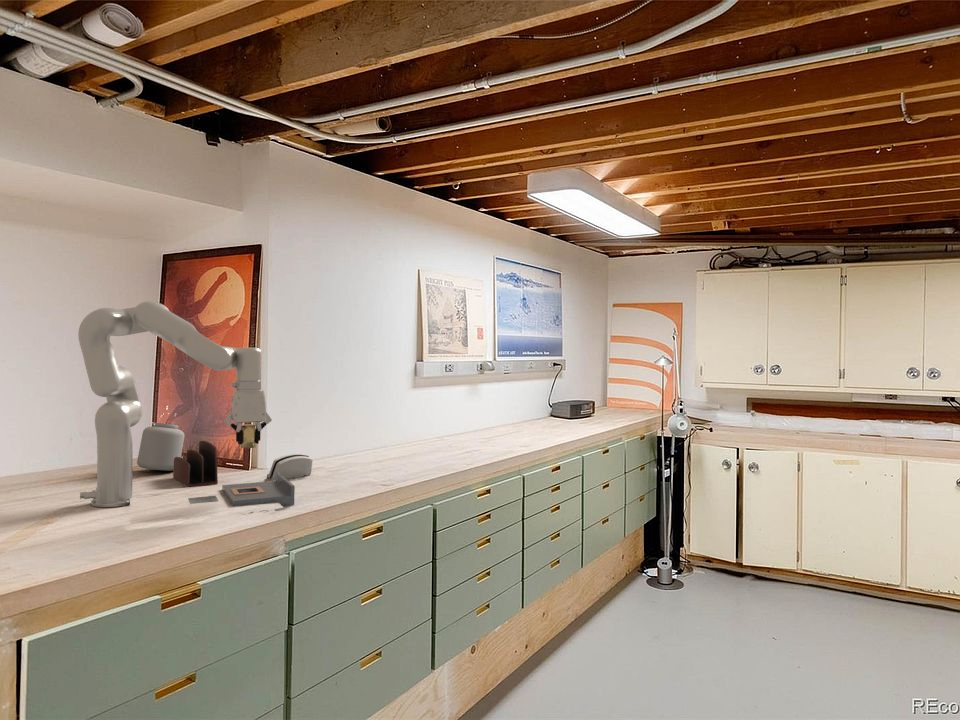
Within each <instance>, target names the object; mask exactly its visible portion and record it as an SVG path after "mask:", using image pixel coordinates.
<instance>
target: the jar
mask: <svg viewBox="0 0 960 720" xmlns="http://www.w3.org/2000/svg"><path fill="white" fill-rule="evenodd" d="M168 407H169V405H166V410H168ZM167 414H168V415H169V414H170V413H169V412H168V413H167ZM174 414H175V415H174V416H176V415H177V413H174ZM162 417H163V415H162V414H161V416H160V418H162ZM151 422H152V421H151ZM184 441H185V433H184V431H183V430H181V429H179V425H177V424H170V423H161V422H152V425H151V426H147V427H145V428H144V429H143V431H142V434H141V439H140V443H139V444H140V446H139V450H138V454H137V461H136V464H137V466H138V467H139V468H141V469H146V470H154V471H155V470H156V471H167V472H169V471H172V472H173V469H174V458H175V457H180V458H182V454H183V453H182V452H183V448H184Z"/></svg>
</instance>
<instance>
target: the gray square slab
mask: <svg viewBox="0 0 960 720" xmlns="http://www.w3.org/2000/svg"><path fill="white" fill-rule="evenodd" d="M219 501H220V500H219V498H218V497H217V495H209V496H198V497H188V502H189V503H190V504H191V505H192V504H193V505H194V504H204V503H205V504H206V503H214V502H215V503H216V502H219Z"/></svg>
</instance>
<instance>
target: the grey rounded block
mask: <svg viewBox="0 0 960 720" xmlns="http://www.w3.org/2000/svg"><path fill="white" fill-rule="evenodd" d="M312 468H313V459H312V458H311V457H310V456H309V455H307V454H303V453H289V454H285V455H283V456H282V455H281V456H279V457H277V458H275V459H274V460H273V462H272V464H271V467H270V470H269V473H267V475H266V480H269V478H270V480H271V481H275V472H279V473H280V474H281V475H282V476H284V477H285V478H288V479H293V478H292V477H294V478H299V477H298V476H300V477H304V476H303V475H306V476H310V474H311V475H312Z"/></svg>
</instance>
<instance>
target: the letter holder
mask: <svg viewBox="0 0 960 720" xmlns="http://www.w3.org/2000/svg"><path fill="white" fill-rule="evenodd" d="M217 450H218V449H217V447H216V445H214V444H213V443H211V442H210V441H206V440H199V441H198V450H195V449H191V448H189V449H187V450H186V459H184V458H183V457H181V458H180V457H175V458H174V469H173V471H172V473H173V474H172V478H173V479H175V480H176V481H178V482H179V483H181V484H182V485H184V486H185V487H187V488H196V487H197V488H198V487H203V486H204V487H205V486H215V485H218V484H219V482H218V457H217V456H218V453H217V452H218V451H217Z"/></svg>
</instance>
